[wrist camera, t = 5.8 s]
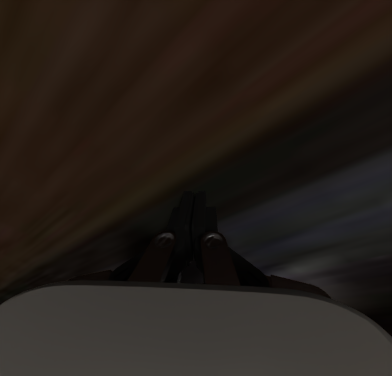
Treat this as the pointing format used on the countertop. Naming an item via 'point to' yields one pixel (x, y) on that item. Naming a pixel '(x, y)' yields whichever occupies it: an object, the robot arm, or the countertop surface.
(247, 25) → the countertop surface
